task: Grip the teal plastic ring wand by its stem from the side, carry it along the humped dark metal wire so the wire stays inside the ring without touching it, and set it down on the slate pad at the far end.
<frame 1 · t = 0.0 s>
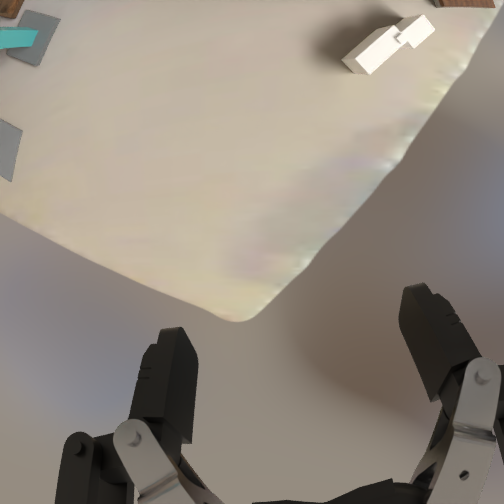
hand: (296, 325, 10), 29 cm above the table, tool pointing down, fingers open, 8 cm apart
bent wire rig: (12, 93, 27), on the table
ring wand: (33, 36, 23), on the table
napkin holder: (382, 45, 28), on the table
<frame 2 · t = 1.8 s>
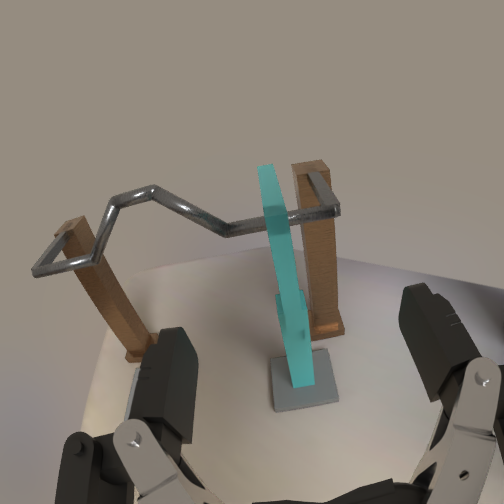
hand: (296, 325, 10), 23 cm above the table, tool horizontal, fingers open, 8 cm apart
bent wire rig: (227, 392, 33), on the table
ring wand: (303, 381, 32), on the table
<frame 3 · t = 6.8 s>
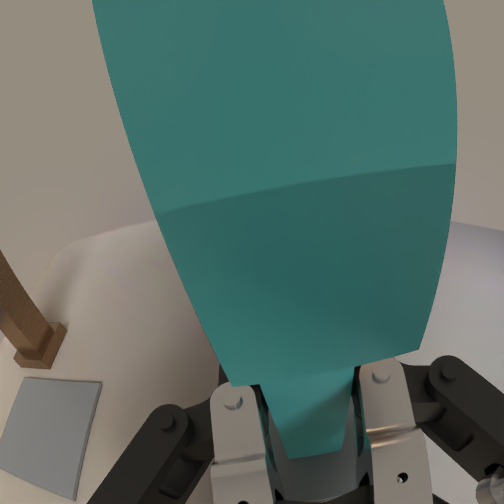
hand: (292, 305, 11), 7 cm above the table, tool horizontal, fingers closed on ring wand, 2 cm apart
bent wire rig: (147, 448, 13), on the table
ring wand: (312, 439, 13), on the table, touching gripper
slate pad: (42, 430, 14), on the table
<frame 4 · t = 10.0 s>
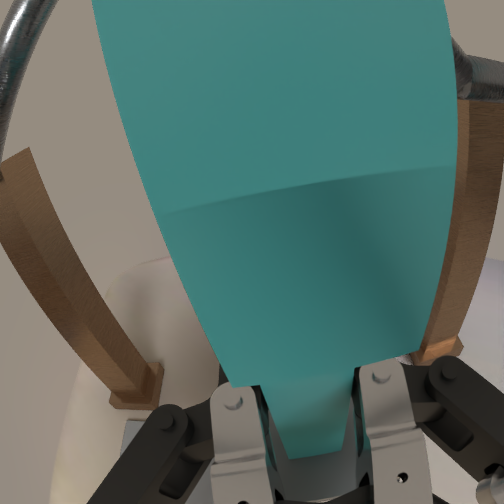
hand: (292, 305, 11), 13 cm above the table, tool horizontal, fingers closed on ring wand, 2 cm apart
bent wire rig: (293, 469, 16), on the table
ring wand: (312, 439, 13), point 6 cm above the table, touching gripper
slate pad: (169, 472, 17), on the table
when the fingers open (8 cm above the table, at t = 13.5 s): ring wand stays where it is, resting on slate pad.
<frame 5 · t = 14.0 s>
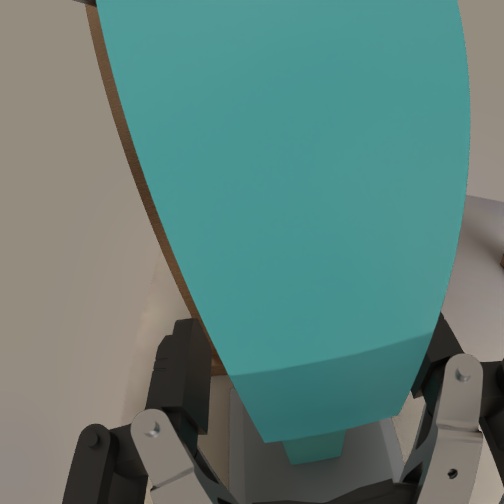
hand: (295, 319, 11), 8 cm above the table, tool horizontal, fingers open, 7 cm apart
bent wire rig: (460, 403, 13), on the table
ring wand: (313, 445, 13), resting on slate pad
slate pad: (312, 447, 13), on the table
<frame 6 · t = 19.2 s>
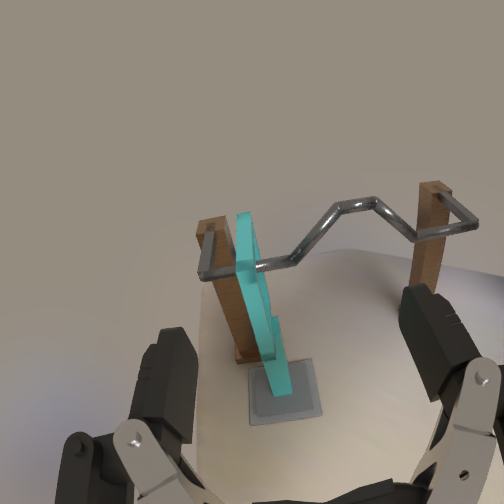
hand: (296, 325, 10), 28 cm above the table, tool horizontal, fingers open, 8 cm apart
bent wire rig: (349, 379, 36), on the table
ring wand: (283, 391, 37), resting on slate pad
slate pad: (283, 392, 37), on the table
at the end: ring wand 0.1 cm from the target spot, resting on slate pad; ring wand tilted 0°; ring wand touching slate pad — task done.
